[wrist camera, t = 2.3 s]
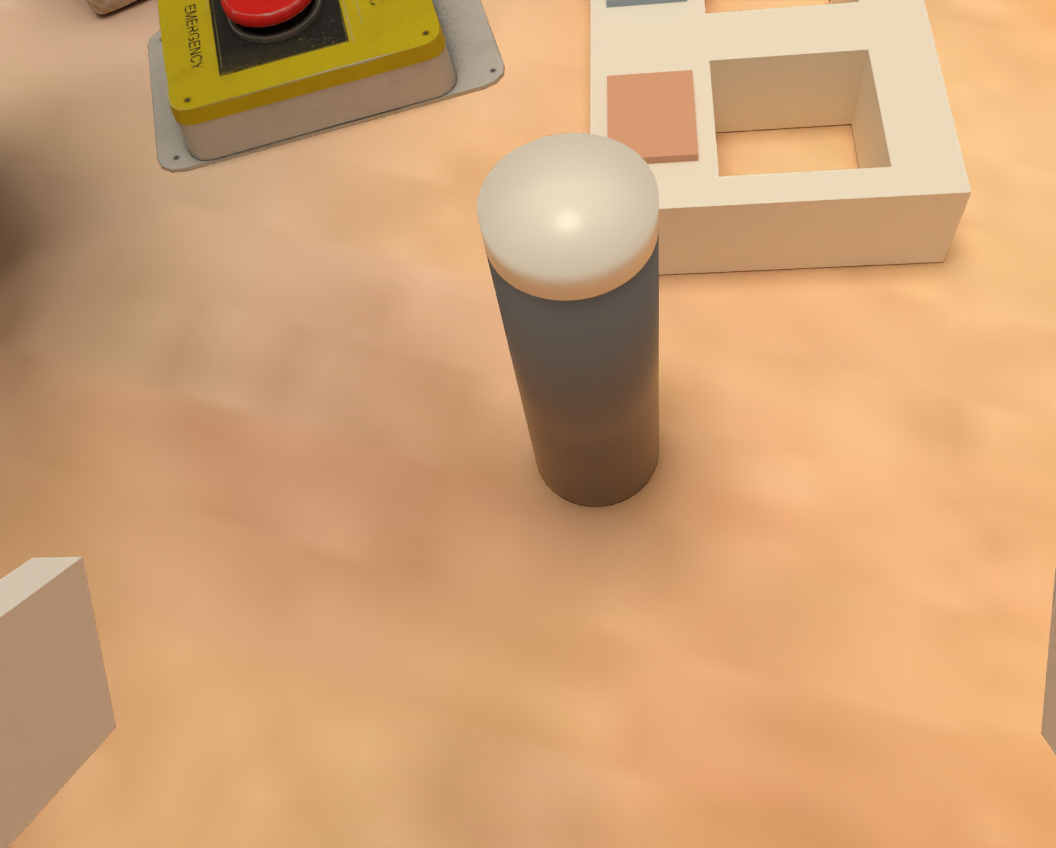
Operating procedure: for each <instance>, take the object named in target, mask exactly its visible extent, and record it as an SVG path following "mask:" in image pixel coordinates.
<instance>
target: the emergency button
mask: <svg viewBox="0 0 1056 848" xmlns="http://www.w3.org/2000/svg"><path fill="white" fill-rule="evenodd" d="M158 10H159V20H160V31H158V32H157V33H156V34H155V35H154V36H152V37H151V38H150V41H149V43H148V56H149V67H150V79H151V90H152V101H153V113H154V124H155V135H156V147H157V158H158V161H159V163H160V164H161V166H162V168H163V169H164V170H167V171H170V172H182V171H189V170H192V169H196V168H200V167H203V166H207V165H210V164H214V163H218V162H221V161H225V160H229V159H232V158H236V157H240V156H243V155H247V154H250V153H254V152H258V151H261V150H265V149H269V148H272V147H276V146H279V145H283V144H287V143H290V142H294V141H298V140H301V139H305V138H309V137H312V136H316V135H319V134H323V133H327V132H330V131H334V130H338V129H341V128H345V127H348V126H352V125H356V124H359V123H363V122H367V121H370V120H374V119H378V118H381V117H385V116H388V115H392V114H396V113H399V112H403V111H407V110H410V109H414V108H417V107H421V106H425V105H428V104H432V103H436V102H439V101H443V100H447V99H450V98H454V97H457V96H461V95H465V94H468V93H472V92H476V91H479V90H483V89H486V88H488V87H490V86H492V85H494V84H496V83H497V82H498V81H499V80H500V79H501V78H502V77H503V76H504V63H503V61H502V58H501V55H500V52H499V50H498V47H497V44H496V41H495V39H494V36H493V33H492V30H491V28H490V25H489V22H488V19H487V17H486V14H485V11H484V9H483V6H482V3H481V0H158Z"/></svg>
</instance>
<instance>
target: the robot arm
mask: <svg viewBox="0 0 1056 848" xmlns="http://www.w3.org/2000/svg"><path fill="white" fill-rule="evenodd" d="M115 728H116V724H115V719H114V714H113V709H112V704H111V699H110V694H109V689H108V683H107V678H106V673H105V668H104V663H103V658H102V653H101V648H100V643H99V638H98V633H97V627H96V622H95V617H94V612H93V607H92V602H91V597H90V592H89V587H88V582H87V577H86V571H85V566H84V561H83V557H37V558H31V559H30V560H28V561H27V562H25V563H24V564H22V565H21V566H19V567H18V568H16V569H15V570H13V571H12V572H10V573H9V574H7V575H6V576H5V577H3V578H2V579H0V848H8V847H9V846H10V845H11V844H12V843H13V841H14V840H15V839H16V838H17V837H18V836H19V835H20V834H21V833H22V831H23V830H24V829H25V828H26V827H27V826H28V825H29V824H30V823H31V821H32V820H33V819H34V818H35V817H36V816H37V815H38V814H39V813H40V811H41V810H42V809H43V808H44V807H45V806H46V805H47V804H48V803H49V801H50V800H51V799H52V798H53V797H54V796H55V795H56V794H57V793H58V791H59V790H60V789H61V788H62V787H63V786H64V785H65V784H66V783H67V781H68V780H69V779H70V778H71V777H72V776H73V775H74V774H75V773H76V771H77V770H78V769H79V768H80V767H81V766H82V765H83V764H84V763H85V761H86V760H87V759H88V758H89V757H90V756H91V755H92V754H93V753H94V751H95V750H96V749H97V748H98V747H99V746H100V745H101V744H102V743H103V741H104V740H105V739H106V738H107V737H108V736H109V735H110V734H111V733H112V731H113V730H114V729H115ZM1041 734H1042V736H1043V737H1044V739H1045V740H1046V741H1047V743H1048V744H1049V746H1050V747H1051V749H1052V750H1053V752H1054V753H1055V755H1056V569H1055V580H1054V592H1053V603H1052V615H1051V626H1050V638H1049V649H1048V661H1047V672H1046V684H1045V695H1044V707H1043V718H1042V730H1041Z"/></svg>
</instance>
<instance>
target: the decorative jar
mask: <svg viewBox="0 0 1056 848" xmlns="http://www.w3.org/2000/svg"><path fill="white" fill-rule="evenodd" d="M135 1H137V0H87V2H88V4H89V5H90V7H91V8H92V10H93V11H95V12H96V13H97V14H107V13H110V12H112V11H115V10H117V9H120V8H122V7H125V6H127V5H129V4H131V3H133V2H135Z"/></svg>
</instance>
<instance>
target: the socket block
mask: <svg viewBox="0 0 1056 848" xmlns="http://www.w3.org/2000/svg"><path fill="white" fill-rule="evenodd" d="M844 124H851V125H852V131H853V137H854V143H855V148H856V154H857V160H858V165H859V169H843V170H825V171H808V172H790V173H772V174H755V175H737V176H720V177H719V170H718V158H717V146H716V134H715V132H731V131H747V130H763V129H779V128H795V127H812V126H828V125H844ZM590 134H595V135H600V136H604V137H607V138H611V139H613V140H616V141H618V142H621V143H623V144H624V145H626V146H628V147H629V148H631V149H632V150H634V151H635V152H636V153H638V154H639V155H640V156H641V157H642V158H643V159H644V160H645V161H646V163H647V164H648V166H649V167H650V168H651V170H652V172H653V174H654V176H655V179H656V182H657V185H658V192H659V275H665V274H687V273H709V272H731V271H753V270H775V269H797V268H818V267H840V266H862V265H884V264H906V263H928V262H943V261H944V259H945V256H946V254H947V251H948V249H949V246H950V244H951V241H952V239H953V236H954V234H955V231H956V229H957V226H958V224H959V221H960V219H961V216H962V214H963V211H964V209H965V207H966V204H967V202H968V199H969V197H970V194H971V189H970V185H969V181H968V177H967V173H966V169H965V165H964V161H963V157H962V153H961V148H960V144H959V140H958V136H957V132H956V128H955V124H954V120H953V116H952V112H951V108H950V104H949V100H948V96H947V91H946V87H945V83H944V79H943V75H942V71H941V67H940V63H939V59H938V55H937V51H936V47H935V43H934V38H933V34H932V30H931V26H930V22H929V18H928V14H927V10H926V6H925V2H924V0H830V4H825V5H811V6H798V7H785V8H772V9H758V10H745V11H732V12H719V13H706V14H705V2H704V0H591V76H590Z"/></svg>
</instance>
